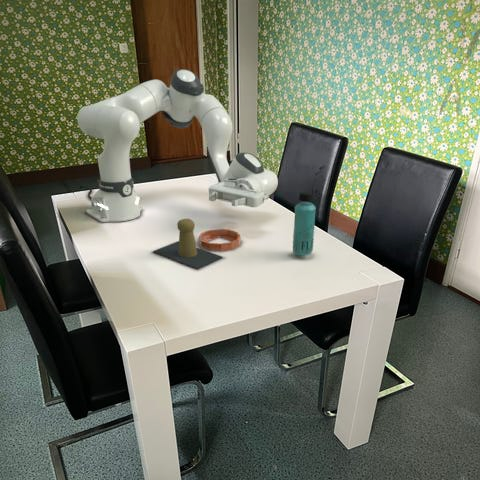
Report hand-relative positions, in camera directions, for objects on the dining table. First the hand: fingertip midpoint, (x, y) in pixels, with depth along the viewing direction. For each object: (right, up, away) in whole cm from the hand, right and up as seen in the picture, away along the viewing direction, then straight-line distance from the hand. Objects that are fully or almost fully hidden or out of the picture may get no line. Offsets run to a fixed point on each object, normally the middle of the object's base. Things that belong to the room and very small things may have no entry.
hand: (221, 201), depth 151 cm
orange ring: (-1, -13, +4) cm, 14 cm away
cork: (-11, -18, -5) cm, 21 cm away
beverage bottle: (+26, -19, -5) cm, 32 cm away
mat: (-11, -18, -5) cm, 22 cm away
